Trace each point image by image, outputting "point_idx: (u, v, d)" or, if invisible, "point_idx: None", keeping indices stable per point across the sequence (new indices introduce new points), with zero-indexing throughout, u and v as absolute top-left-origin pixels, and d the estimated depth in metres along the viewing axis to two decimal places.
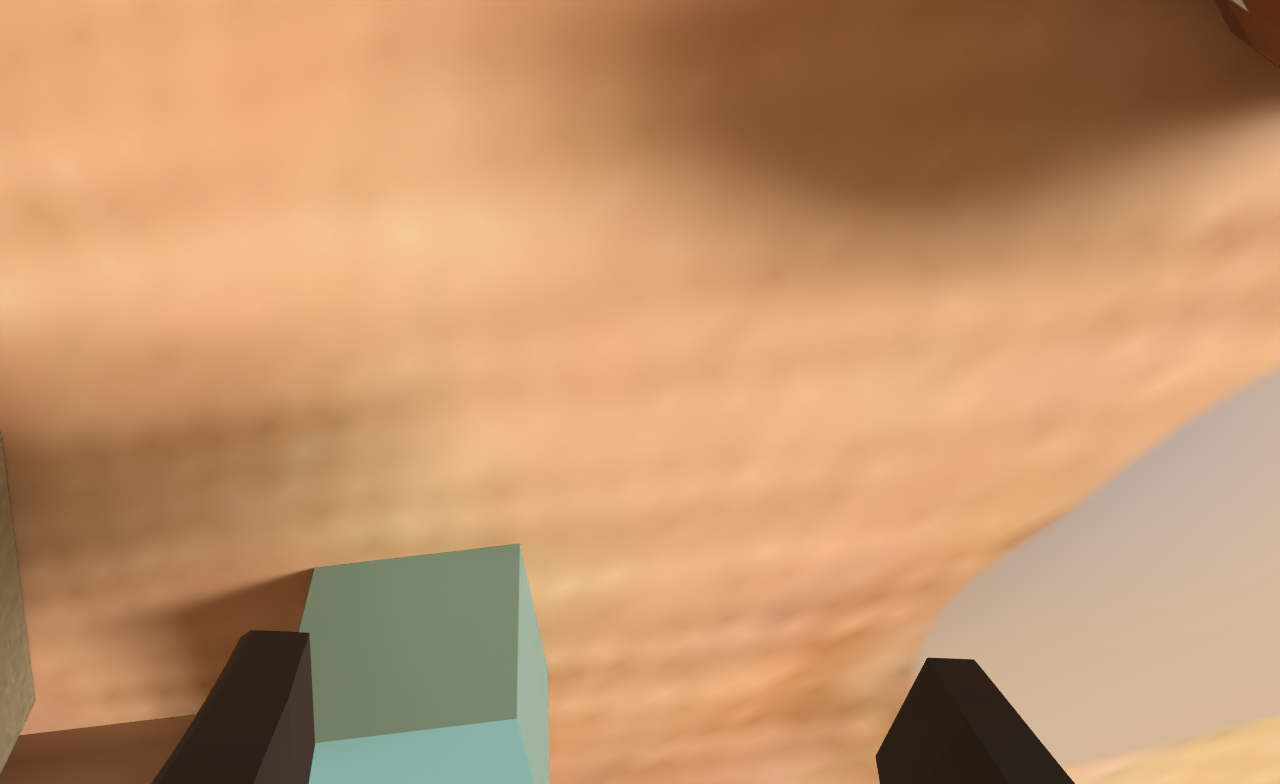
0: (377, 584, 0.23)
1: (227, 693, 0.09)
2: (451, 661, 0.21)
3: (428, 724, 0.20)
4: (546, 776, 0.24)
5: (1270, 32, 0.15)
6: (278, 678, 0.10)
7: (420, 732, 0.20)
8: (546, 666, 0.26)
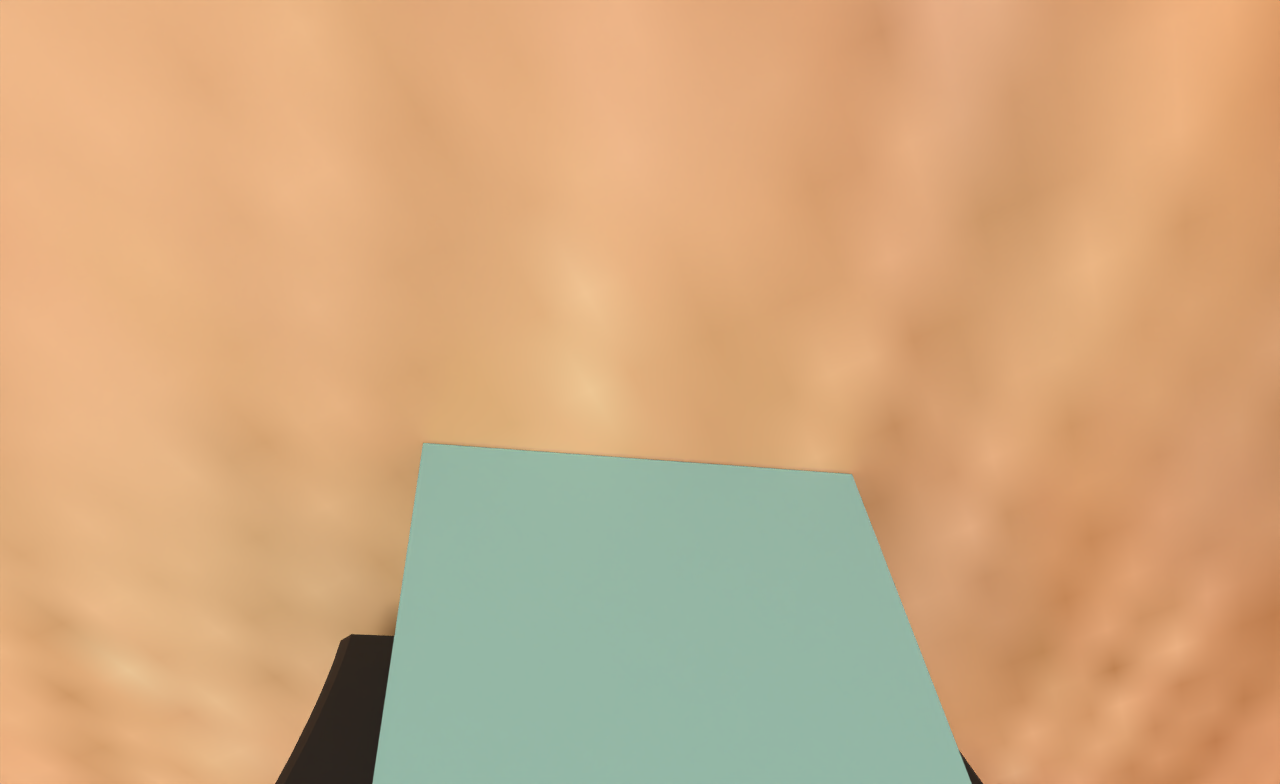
0: None
1: (337, 697, 0.09)
2: None
3: None
4: (902, 736, 0.09)
5: None
6: (385, 682, 0.10)
7: None
8: (830, 482, 0.11)
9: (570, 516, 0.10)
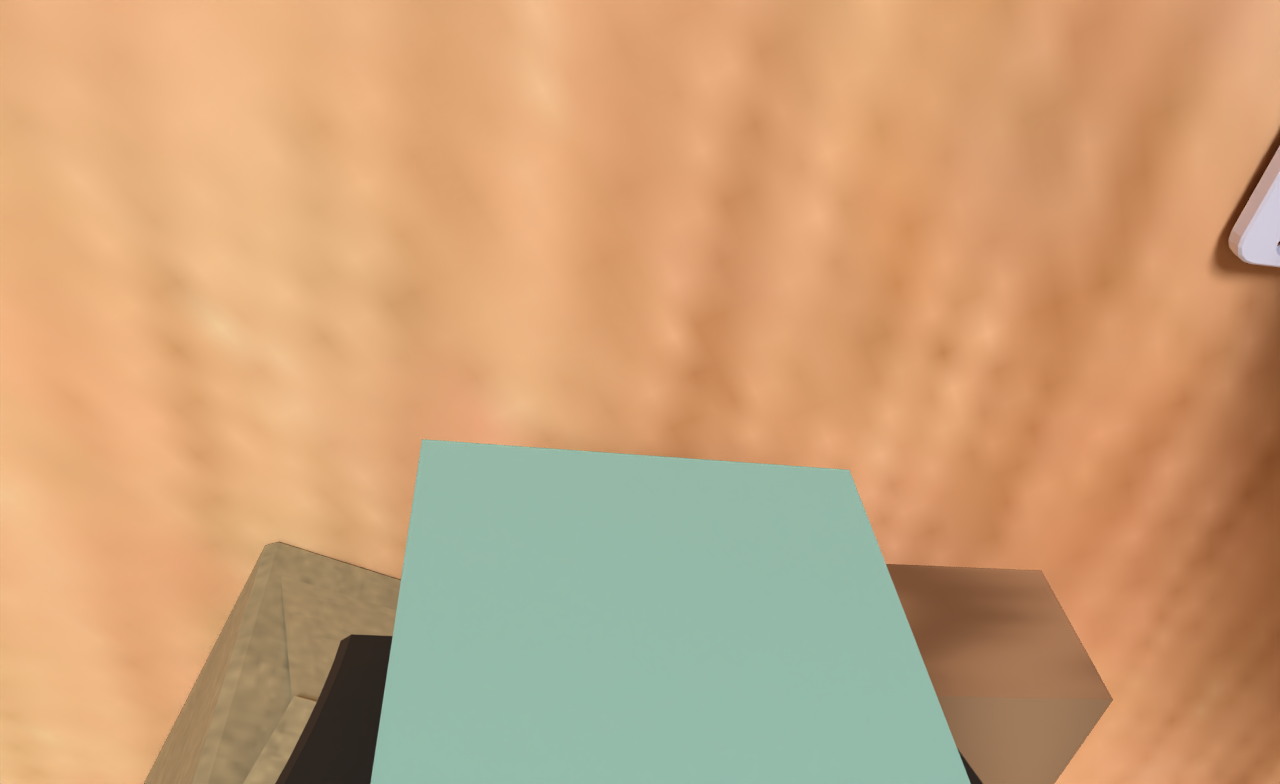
0: None
1: (337, 696, 0.09)
2: None
3: None
4: (899, 728, 0.09)
5: None
6: (384, 682, 0.10)
7: None
8: (828, 477, 0.11)
9: (568, 511, 0.10)
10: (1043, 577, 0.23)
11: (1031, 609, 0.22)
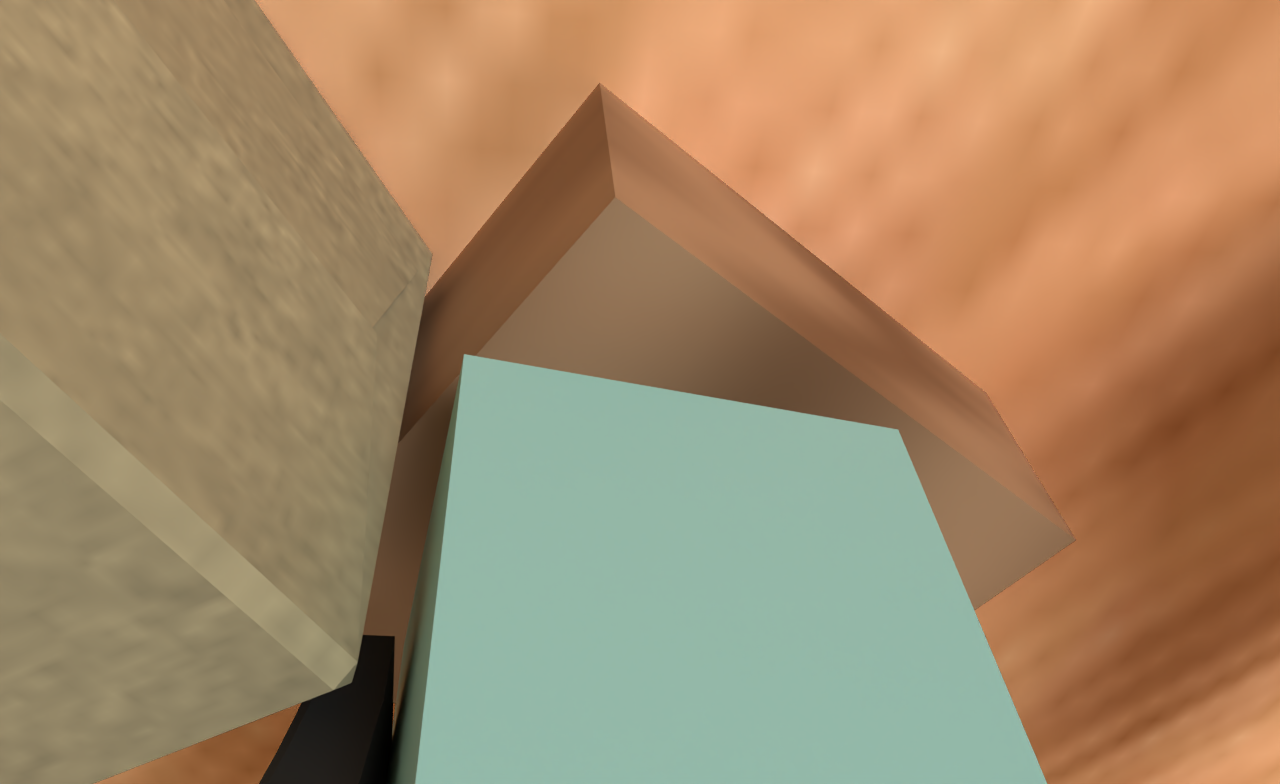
0: (412, 623, 0.11)
1: (323, 696, 0.09)
2: (409, 722, 0.08)
3: None
4: (961, 694, 0.08)
5: None
6: (371, 681, 0.10)
7: None
8: (878, 435, 0.11)
9: (619, 443, 0.10)
10: (988, 400, 0.17)
11: (984, 414, 0.16)
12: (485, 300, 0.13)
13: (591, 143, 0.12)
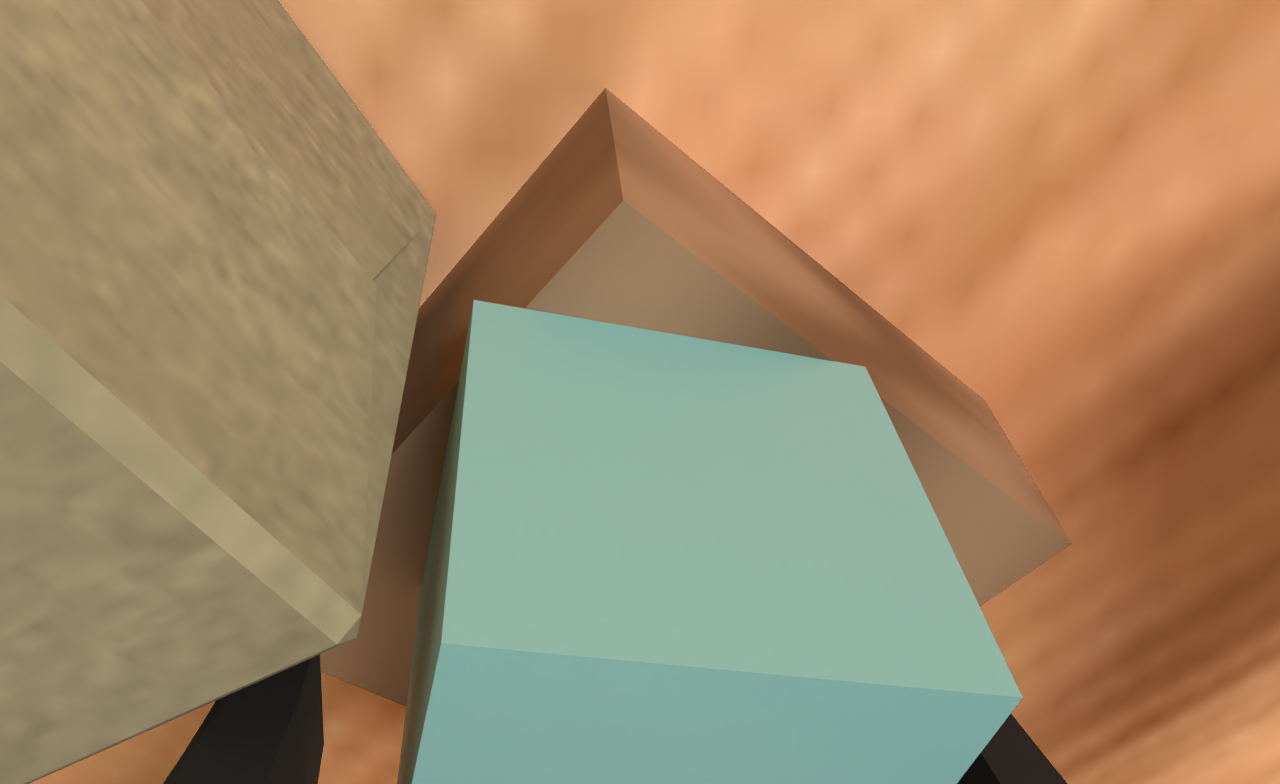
0: (430, 555, 0.13)
1: (238, 693, 0.09)
2: (434, 605, 0.09)
3: (415, 766, 0.08)
4: (919, 568, 0.09)
5: None
6: (289, 679, 0.10)
7: None
8: (846, 370, 0.12)
9: (613, 371, 0.11)
10: (984, 404, 0.18)
11: (981, 418, 0.16)
12: (491, 301, 0.13)
13: (597, 146, 0.12)
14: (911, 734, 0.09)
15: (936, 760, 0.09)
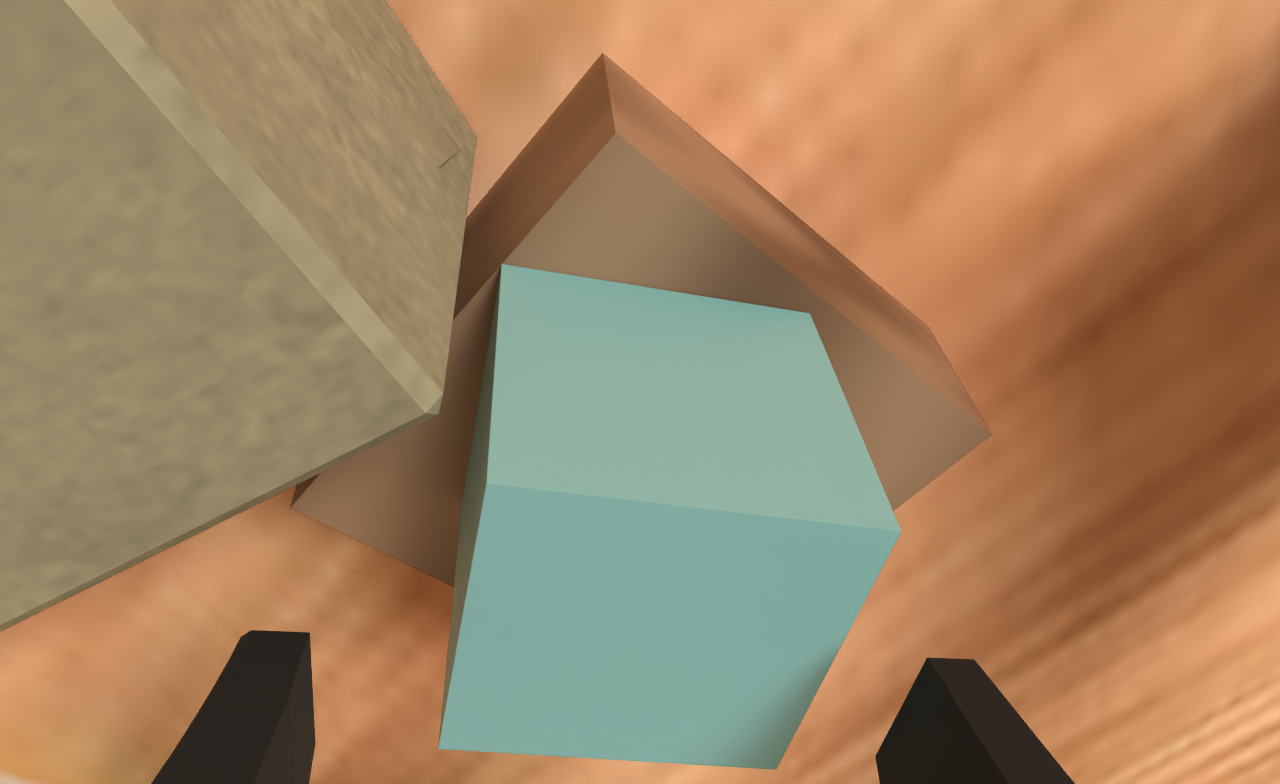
0: (470, 467, 0.16)
1: (227, 693, 0.09)
2: (477, 482, 0.13)
3: (467, 587, 0.12)
4: (834, 450, 0.13)
5: None
6: (278, 678, 0.10)
7: (471, 603, 0.12)
8: (794, 316, 0.16)
9: (608, 315, 0.14)
10: (928, 330, 0.20)
11: (922, 337, 0.19)
12: (509, 224, 0.16)
13: (595, 97, 0.15)
14: (824, 561, 0.12)
15: (845, 584, 0.12)
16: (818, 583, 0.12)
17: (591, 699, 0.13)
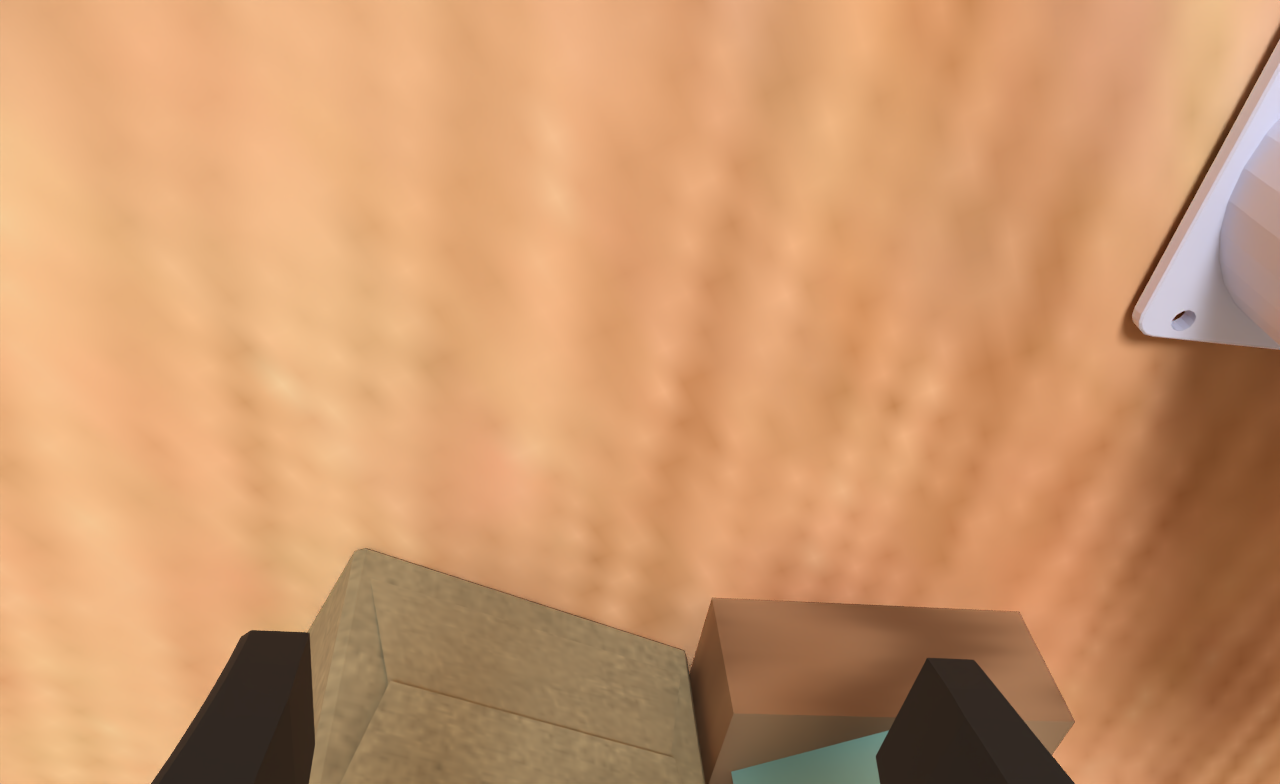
0: None
1: (227, 693, 0.09)
2: None
3: None
4: None
5: None
6: (278, 678, 0.10)
7: None
8: None
9: None
10: (1019, 615, 0.28)
11: (1008, 643, 0.27)
12: (706, 735, 0.26)
13: (718, 652, 0.25)
14: None
15: None
16: None
17: None
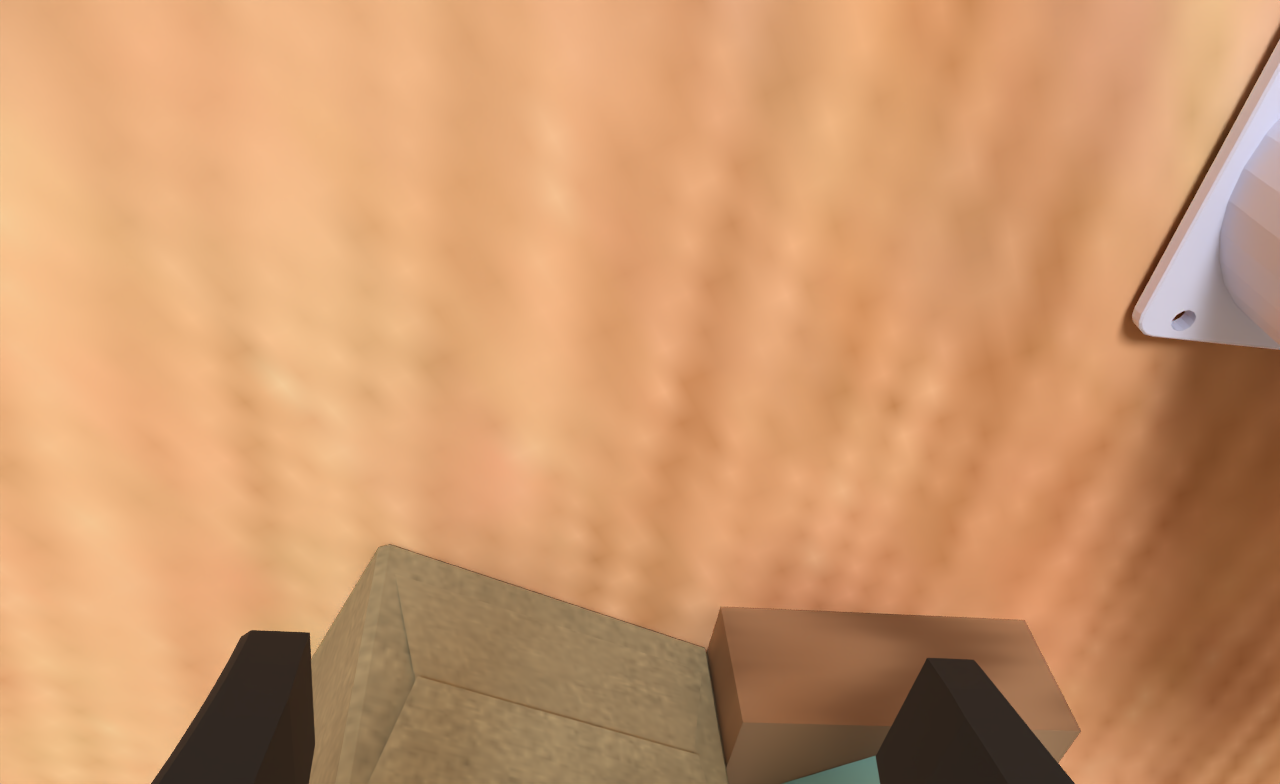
0: None
1: (227, 693, 0.09)
2: None
3: None
4: None
5: None
6: (278, 678, 0.10)
7: None
8: None
9: None
10: (1025, 624, 0.28)
11: (1015, 652, 0.27)
12: None
13: (727, 661, 0.25)
14: None
15: None
16: None
17: None
